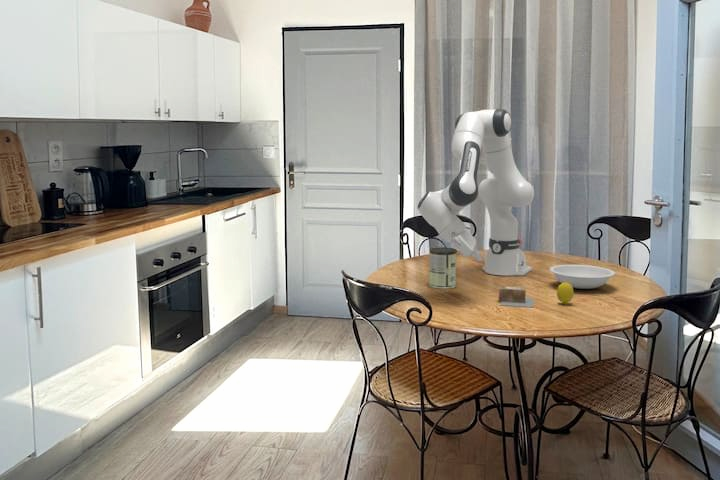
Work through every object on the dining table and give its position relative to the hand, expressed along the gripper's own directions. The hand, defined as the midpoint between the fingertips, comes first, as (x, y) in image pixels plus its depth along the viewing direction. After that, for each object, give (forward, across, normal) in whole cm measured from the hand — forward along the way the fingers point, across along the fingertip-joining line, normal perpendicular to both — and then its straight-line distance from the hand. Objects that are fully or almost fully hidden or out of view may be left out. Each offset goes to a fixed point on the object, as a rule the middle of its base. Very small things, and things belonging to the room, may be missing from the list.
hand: (481, 259), depth 265 cm
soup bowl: (+36, +29, -15) cm, 49 cm away
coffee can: (0, +18, +21) cm, 28 cm away
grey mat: (+19, 0, +1) cm, 19 cm away
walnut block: (+13, 0, +4) cm, 14 cm away
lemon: (+31, 0, -10) cm, 33 cm away
